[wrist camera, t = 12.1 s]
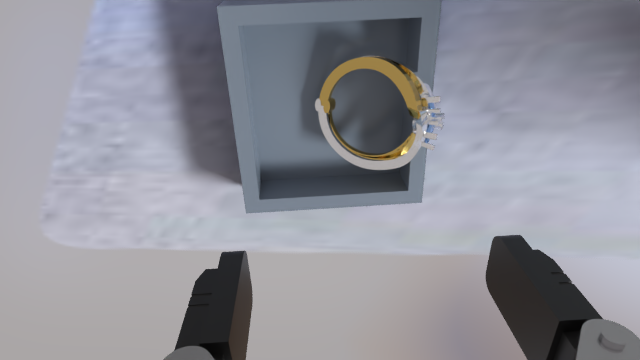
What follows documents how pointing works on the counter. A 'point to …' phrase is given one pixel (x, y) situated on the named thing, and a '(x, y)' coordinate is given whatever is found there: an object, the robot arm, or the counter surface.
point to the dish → (304, 89)
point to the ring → (409, 88)
